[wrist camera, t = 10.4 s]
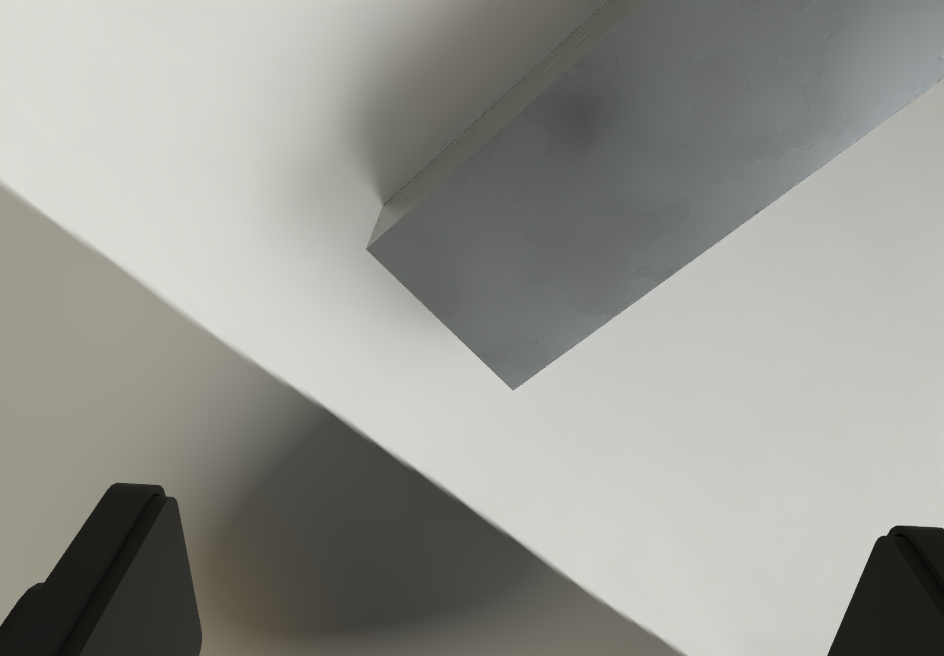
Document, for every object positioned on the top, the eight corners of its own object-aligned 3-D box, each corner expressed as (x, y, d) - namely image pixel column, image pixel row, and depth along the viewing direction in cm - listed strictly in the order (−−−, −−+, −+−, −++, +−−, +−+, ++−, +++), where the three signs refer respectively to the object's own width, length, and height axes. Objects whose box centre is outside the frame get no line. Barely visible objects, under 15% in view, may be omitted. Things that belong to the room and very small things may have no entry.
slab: (511, 333, 25) (513, 391, 22) (382, 204, 23) (365, 249, 20) (973, -20, 19) (1064, -9, 16) (859, -230, 17) (940, -264, 14)
